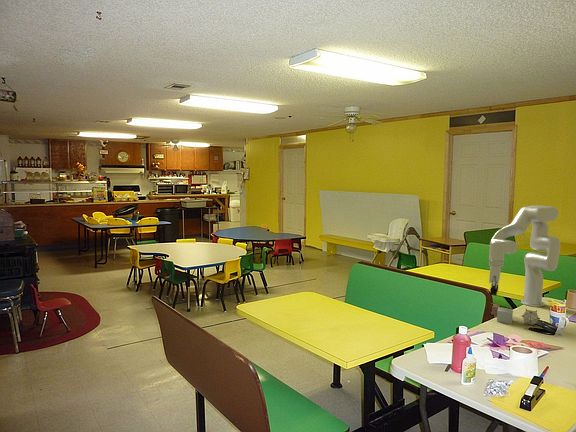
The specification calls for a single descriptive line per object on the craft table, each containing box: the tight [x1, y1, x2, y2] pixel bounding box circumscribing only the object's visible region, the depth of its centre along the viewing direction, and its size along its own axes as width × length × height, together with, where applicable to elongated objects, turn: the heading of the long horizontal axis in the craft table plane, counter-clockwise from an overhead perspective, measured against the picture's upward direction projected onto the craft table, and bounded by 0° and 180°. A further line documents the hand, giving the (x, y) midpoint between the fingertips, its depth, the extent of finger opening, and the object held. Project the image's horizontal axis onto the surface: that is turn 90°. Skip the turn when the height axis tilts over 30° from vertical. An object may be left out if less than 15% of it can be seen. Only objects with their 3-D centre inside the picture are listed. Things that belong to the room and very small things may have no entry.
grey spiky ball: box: [521, 308, 541, 326], centre depth 219 cm, size 9×8×10 cm
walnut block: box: [491, 303, 500, 317], centre depth 237 cm, size 5×5×5 cm
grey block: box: [496, 306, 514, 325], centre depth 225 cm, size 7×7×6 cm
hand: (494, 293), depth 236 cm, fingers open, 9 cm apart
